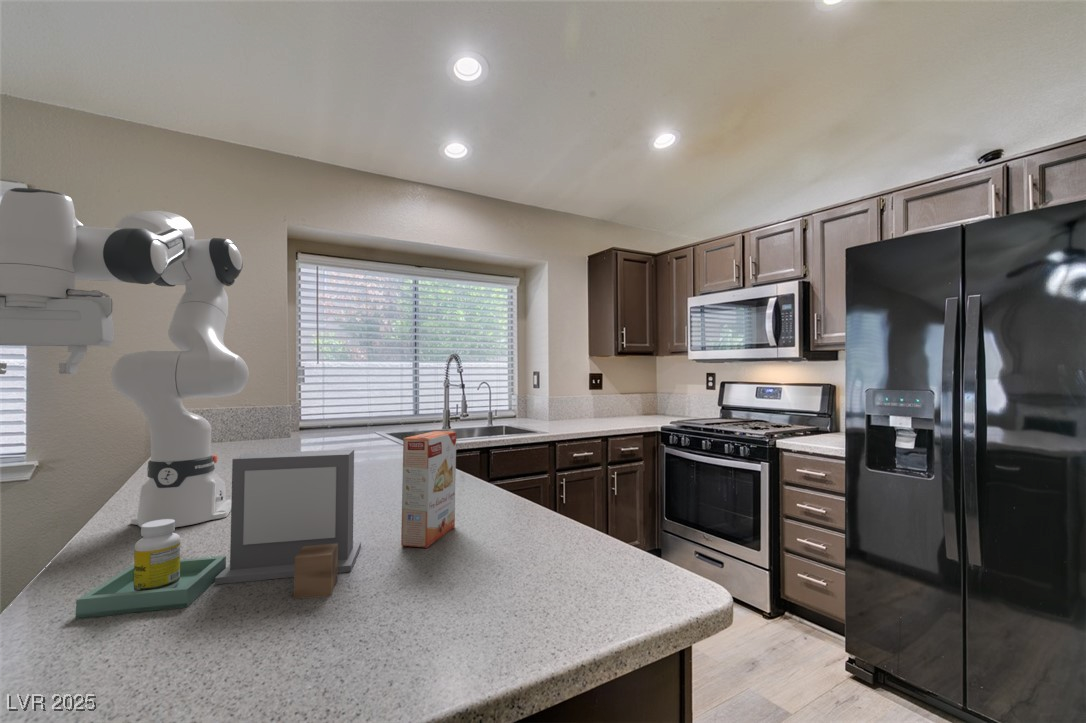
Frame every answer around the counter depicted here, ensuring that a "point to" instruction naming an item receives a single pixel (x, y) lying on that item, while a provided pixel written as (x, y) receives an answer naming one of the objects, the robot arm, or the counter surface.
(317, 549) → the walnut block
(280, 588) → the counter surface
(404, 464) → the cracker box
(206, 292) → the robot arm
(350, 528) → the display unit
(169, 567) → the supplement bottle
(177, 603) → the tray
